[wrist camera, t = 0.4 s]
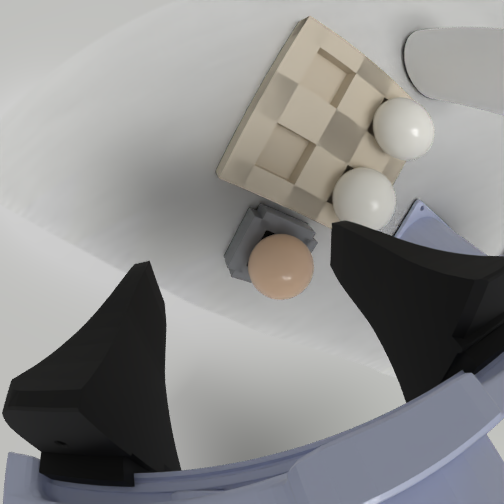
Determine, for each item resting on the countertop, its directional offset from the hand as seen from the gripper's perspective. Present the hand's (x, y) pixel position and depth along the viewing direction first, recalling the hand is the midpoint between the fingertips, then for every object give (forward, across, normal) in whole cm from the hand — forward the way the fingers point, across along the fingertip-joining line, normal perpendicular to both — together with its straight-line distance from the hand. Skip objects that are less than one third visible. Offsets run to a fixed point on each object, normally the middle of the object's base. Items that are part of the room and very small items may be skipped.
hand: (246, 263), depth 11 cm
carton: (+10, -8, -3) cm, 13 cm away
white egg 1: (+6, -9, +1) cm, 11 cm away
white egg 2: (+6, -12, -4) cm, 14 cm away
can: (+10, -19, -9) cm, 23 cm away
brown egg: (+6, -3, +5) cm, 9 cm away
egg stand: (+10, -3, +5) cm, 11 cm away
